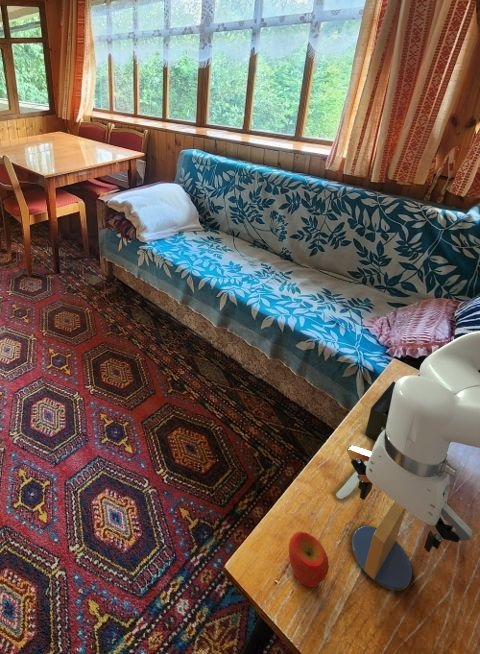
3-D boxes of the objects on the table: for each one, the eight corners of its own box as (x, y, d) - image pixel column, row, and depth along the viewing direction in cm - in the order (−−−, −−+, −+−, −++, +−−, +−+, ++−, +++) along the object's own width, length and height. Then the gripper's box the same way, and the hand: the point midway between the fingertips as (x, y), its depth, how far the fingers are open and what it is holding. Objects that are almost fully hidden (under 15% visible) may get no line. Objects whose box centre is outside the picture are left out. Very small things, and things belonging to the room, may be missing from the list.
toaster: (386, 407, 96) (393, 381, 93) (423, 429, 90) (431, 402, 87) (363, 437, 90) (369, 409, 86) (401, 463, 83) (409, 435, 80)
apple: (330, 575, 66) (336, 550, 64) (314, 606, 63) (319, 581, 60) (296, 543, 71) (300, 519, 68) (279, 570, 67) (283, 545, 65)
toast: (386, 531, 71) (397, 496, 67) (396, 539, 69) (407, 503, 66) (363, 570, 66) (373, 533, 62) (373, 579, 64) (384, 543, 61)
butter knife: (407, 434, 89) (393, 424, 91) (346, 505, 76) (332, 492, 79) (406, 435, 89) (392, 425, 92) (345, 507, 76) (331, 493, 79)
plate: (402, 540, 70) (403, 536, 70) (418, 601, 62) (419, 597, 62) (348, 522, 74) (349, 518, 73) (356, 577, 66) (357, 573, 65)
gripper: (494, 478, 53) (468, 549, 59) (364, 399, 67) (353, 464, 73) (478, 514, 49) (452, 587, 55) (343, 424, 63) (333, 490, 69)
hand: (395, 517), depth 64 cm, fingers open, 9 cm apart
